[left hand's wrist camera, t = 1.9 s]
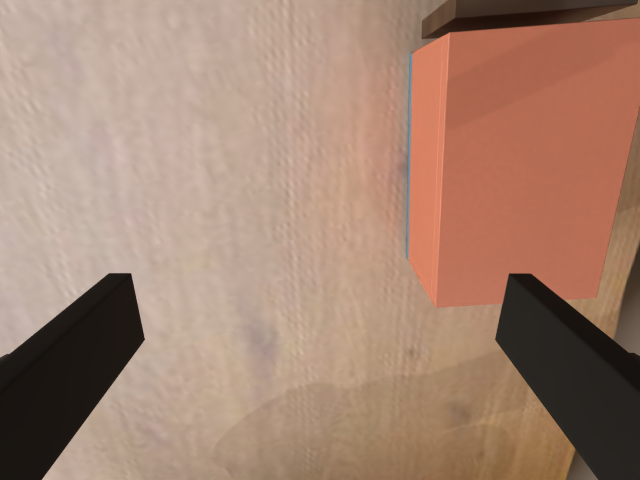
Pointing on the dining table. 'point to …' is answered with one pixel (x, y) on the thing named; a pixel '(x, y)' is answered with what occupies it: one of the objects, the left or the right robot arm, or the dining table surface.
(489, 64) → the cabinet
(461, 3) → the drawer
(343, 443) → the dining table surface
